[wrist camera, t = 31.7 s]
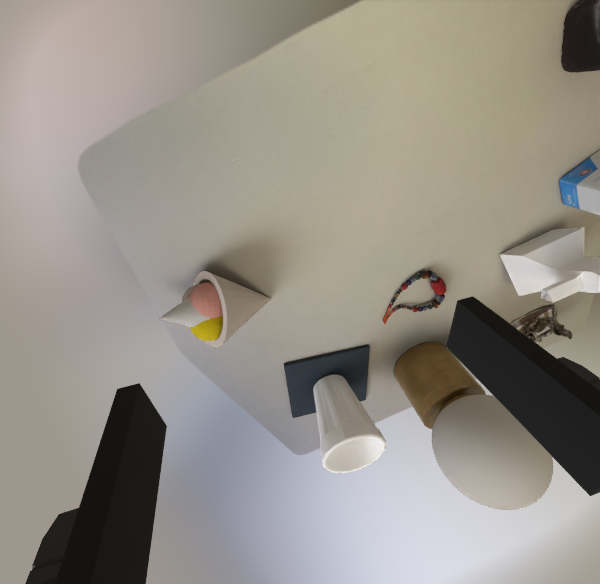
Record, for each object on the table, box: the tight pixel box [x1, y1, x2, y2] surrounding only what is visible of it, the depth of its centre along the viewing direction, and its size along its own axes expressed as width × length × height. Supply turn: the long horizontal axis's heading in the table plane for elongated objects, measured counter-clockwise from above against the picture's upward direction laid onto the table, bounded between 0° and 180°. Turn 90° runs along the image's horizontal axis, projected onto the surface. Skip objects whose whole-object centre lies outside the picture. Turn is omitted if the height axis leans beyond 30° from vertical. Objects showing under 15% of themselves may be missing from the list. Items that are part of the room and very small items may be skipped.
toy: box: [159, 271, 271, 348], centre depth 37 cm, size 9×9×15 cm
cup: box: [313, 375, 386, 473], centre depth 49 cm, size 10×10×13 cm
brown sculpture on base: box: [511, 306, 572, 342], centre depth 58 cm, size 12×6×11 cm
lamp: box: [394, 342, 553, 510], centre depth 46 cm, size 15×14×25 cm
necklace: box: [383, 271, 446, 324], centre depth 47 cm, size 8×11×2 cm
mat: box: [284, 345, 370, 418], centre depth 54 cm, size 15×15×1 cm
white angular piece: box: [499, 227, 600, 303], centre depth 42 cm, size 8×14×14 cm, turn 112°
